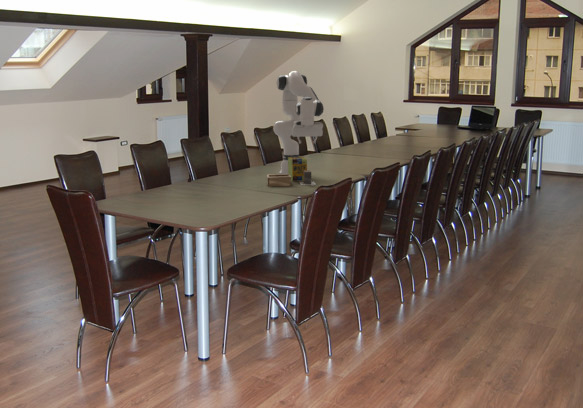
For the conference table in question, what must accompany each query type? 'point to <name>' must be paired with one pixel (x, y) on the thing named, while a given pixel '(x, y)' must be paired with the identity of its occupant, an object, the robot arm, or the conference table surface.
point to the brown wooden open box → (279, 180)
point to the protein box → (297, 168)
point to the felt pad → (308, 184)
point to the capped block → (307, 177)
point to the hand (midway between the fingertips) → (307, 143)
